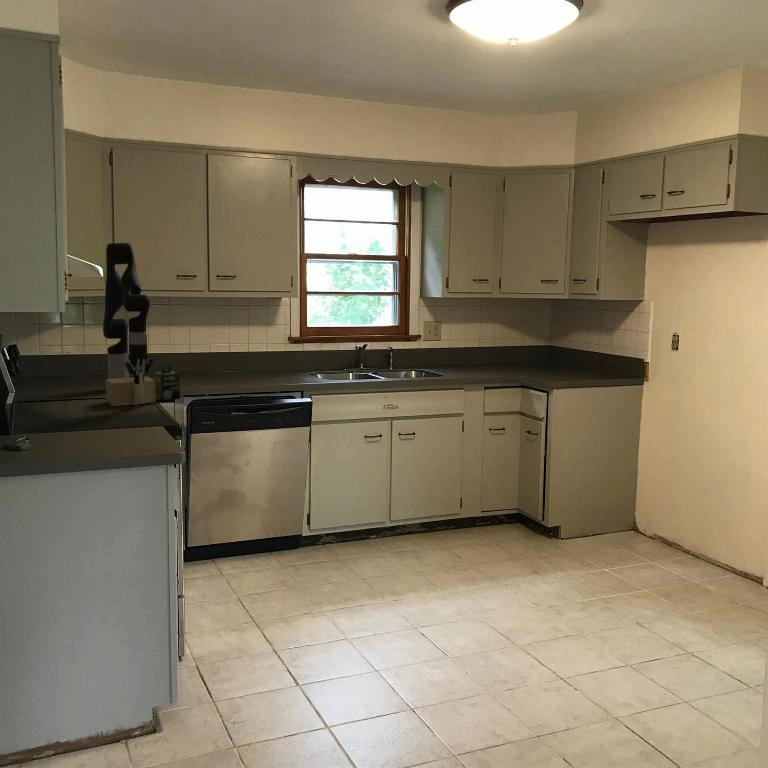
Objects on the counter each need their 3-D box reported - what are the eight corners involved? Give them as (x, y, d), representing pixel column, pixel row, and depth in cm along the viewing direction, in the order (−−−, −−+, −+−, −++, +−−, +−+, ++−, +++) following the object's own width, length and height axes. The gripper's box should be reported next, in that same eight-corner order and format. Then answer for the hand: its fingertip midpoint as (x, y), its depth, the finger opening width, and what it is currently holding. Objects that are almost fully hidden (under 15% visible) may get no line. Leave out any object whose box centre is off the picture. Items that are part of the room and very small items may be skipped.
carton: (106, 402, 359) (105, 379, 357) (147, 398, 368) (147, 376, 367) (113, 406, 349) (112, 383, 347) (155, 403, 358) (154, 379, 357)
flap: (134, 405, 351) (133, 371, 349) (151, 403, 357) (150, 369, 354) (140, 407, 347) (139, 372, 345) (157, 404, 353) (156, 370, 350)
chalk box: (172, 395, 377) (171, 363, 375) (181, 398, 370) (180, 365, 368) (153, 397, 371) (151, 364, 369) (161, 400, 364) (160, 367, 362)
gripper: (146, 340, 353) (148, 380, 356) (118, 343, 342) (119, 384, 345) (157, 342, 348) (158, 382, 351) (128, 344, 338) (129, 386, 341)
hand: (139, 383), depth 348 cm, fingers closed
